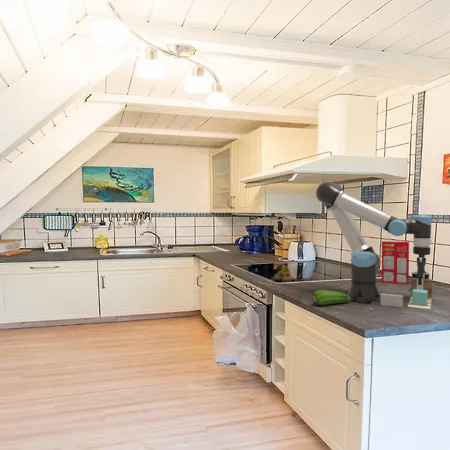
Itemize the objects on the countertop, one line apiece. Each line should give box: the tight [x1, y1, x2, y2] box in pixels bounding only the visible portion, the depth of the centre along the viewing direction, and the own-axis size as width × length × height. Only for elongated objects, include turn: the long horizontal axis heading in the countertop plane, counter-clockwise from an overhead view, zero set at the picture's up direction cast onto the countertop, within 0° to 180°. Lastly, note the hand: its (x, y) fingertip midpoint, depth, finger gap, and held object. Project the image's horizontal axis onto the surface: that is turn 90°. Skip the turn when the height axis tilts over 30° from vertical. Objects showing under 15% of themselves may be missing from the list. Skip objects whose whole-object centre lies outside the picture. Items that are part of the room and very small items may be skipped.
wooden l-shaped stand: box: [407, 277, 433, 310], centre depth 171 cm, size 24×9×10 cm, turn 149°
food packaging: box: [381, 240, 410, 285], centre depth 219 cm, size 15×5×25 cm, turn 65°
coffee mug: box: [411, 271, 430, 279], centre depth 196 cm, size 12×9×10 cm
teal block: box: [412, 289, 428, 306], centre depth 168 cm, size 6×6×6 cm
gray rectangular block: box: [380, 292, 404, 309], centre depth 158 cm, size 20×9×6 cm, turn 149°
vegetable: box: [311, 289, 351, 307], centre depth 174 cm, size 7×7×20 cm
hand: (420, 288), depth 180 cm, fingers open, 13 cm apart
